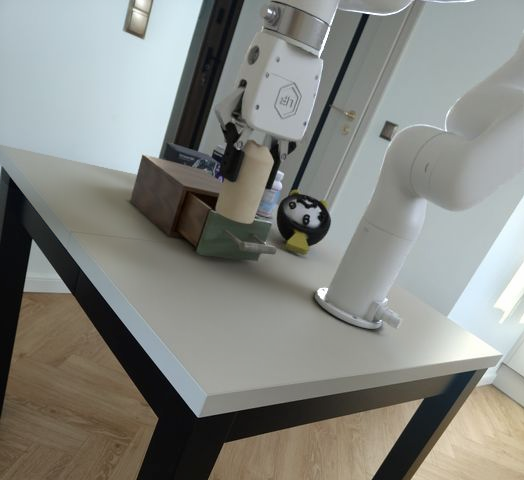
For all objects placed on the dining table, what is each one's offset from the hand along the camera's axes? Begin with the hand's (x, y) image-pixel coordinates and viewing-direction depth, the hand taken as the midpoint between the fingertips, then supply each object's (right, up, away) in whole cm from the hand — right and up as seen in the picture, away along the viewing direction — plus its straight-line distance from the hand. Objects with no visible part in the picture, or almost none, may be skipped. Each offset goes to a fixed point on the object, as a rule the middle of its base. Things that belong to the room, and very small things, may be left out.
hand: (245, 181), depth 68 cm
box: (-16, +11, +45) cm, 49 cm away
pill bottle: (+1, +13, +63) cm, 65 cm away
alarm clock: (+9, +1, +48) cm, 49 cm away
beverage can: (-11, +15, +59) cm, 62 cm away
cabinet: (-13, +2, +30) cm, 33 cm away
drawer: (-6, -4, +22) cm, 23 cm away
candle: (-2, -4, +2) cm, 5 cm away
